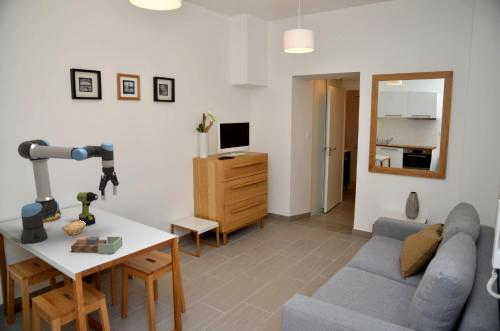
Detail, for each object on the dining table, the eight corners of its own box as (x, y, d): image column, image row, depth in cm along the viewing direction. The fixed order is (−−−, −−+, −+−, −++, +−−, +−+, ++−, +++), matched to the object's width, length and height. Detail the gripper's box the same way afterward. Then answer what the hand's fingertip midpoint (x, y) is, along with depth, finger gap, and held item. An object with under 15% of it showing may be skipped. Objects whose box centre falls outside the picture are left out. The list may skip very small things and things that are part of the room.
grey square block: (87, 244, 218) (86, 239, 217) (91, 241, 223) (90, 236, 222) (95, 244, 218) (94, 239, 217) (99, 241, 223) (98, 236, 222)
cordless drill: (104, 226, 262) (102, 193, 258) (95, 228, 257) (93, 195, 253) (85, 220, 275) (83, 188, 271) (77, 223, 269) (75, 190, 265)
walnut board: (71, 252, 216) (71, 245, 215) (80, 245, 227) (80, 239, 226) (98, 252, 215) (98, 246, 214) (107, 245, 226) (106, 239, 225)
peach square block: (76, 243, 218) (76, 239, 218) (81, 240, 223) (80, 236, 223) (84, 244, 218) (84, 239, 217) (88, 241, 223) (88, 236, 222)
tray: (98, 253, 214) (97, 244, 213) (108, 245, 227) (107, 236, 226) (113, 253, 214) (113, 244, 213) (122, 245, 227) (121, 236, 226)
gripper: (102, 169, 223) (104, 202, 227) (123, 163, 247) (124, 193, 251) (91, 169, 224) (93, 201, 228) (113, 163, 249) (114, 192, 252)
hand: (109, 197), depth 239 cm, fingers open, 13 cm apart
